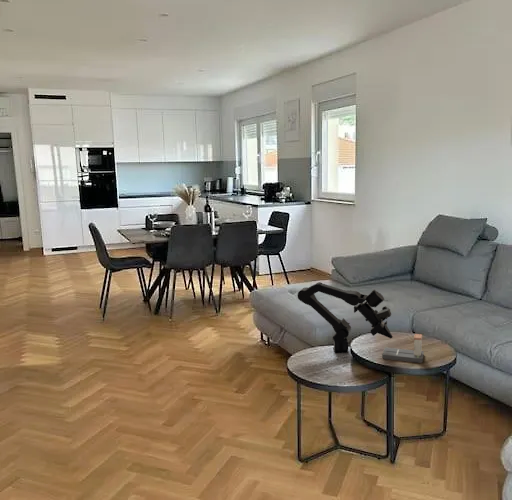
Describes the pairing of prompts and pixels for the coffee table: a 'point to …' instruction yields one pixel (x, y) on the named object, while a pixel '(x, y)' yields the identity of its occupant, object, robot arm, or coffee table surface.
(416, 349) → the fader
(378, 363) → the coffee table surface
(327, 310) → the robot arm
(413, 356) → the plate
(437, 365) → the coffee table surface
